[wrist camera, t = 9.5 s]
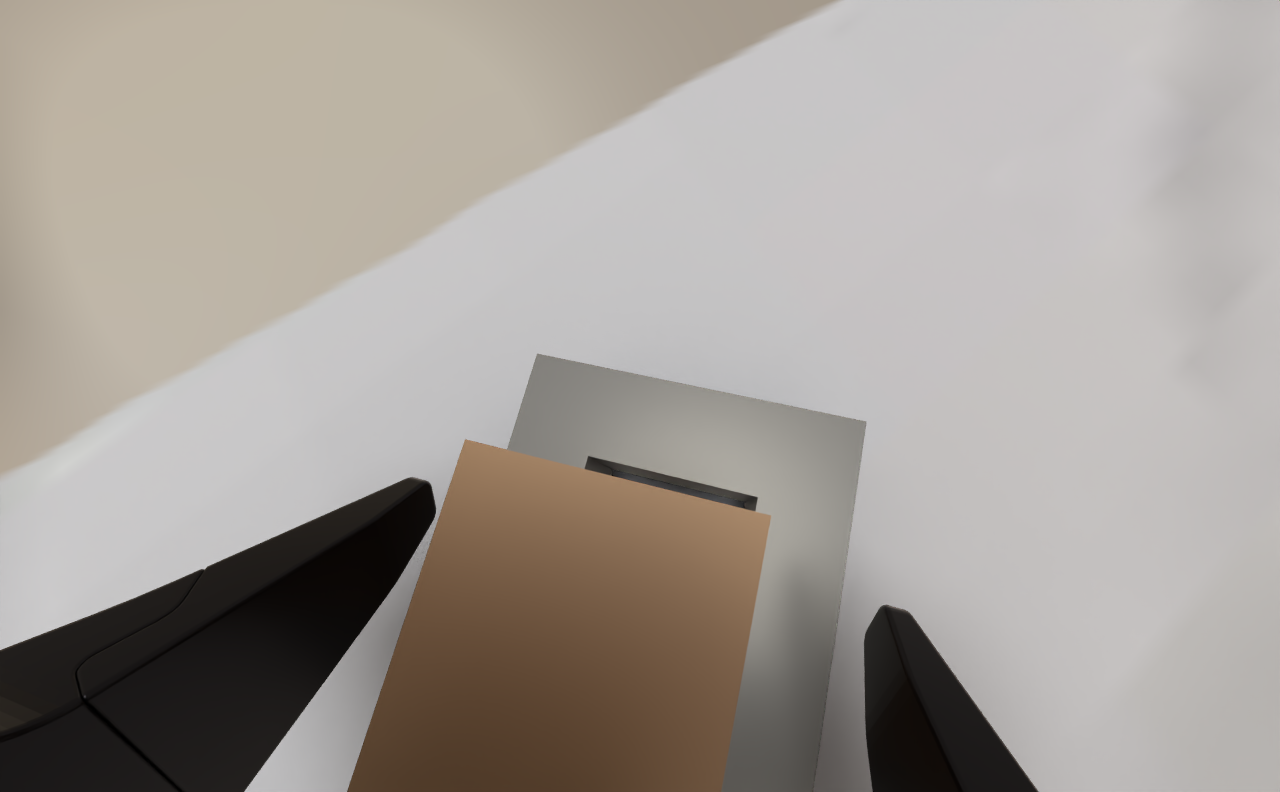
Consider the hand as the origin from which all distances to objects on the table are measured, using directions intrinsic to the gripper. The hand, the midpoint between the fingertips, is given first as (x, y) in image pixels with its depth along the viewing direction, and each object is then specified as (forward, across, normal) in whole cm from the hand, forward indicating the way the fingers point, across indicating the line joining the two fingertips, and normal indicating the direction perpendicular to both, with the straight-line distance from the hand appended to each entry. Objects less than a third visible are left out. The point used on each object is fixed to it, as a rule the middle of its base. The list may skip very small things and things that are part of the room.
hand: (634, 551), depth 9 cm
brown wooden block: (+5, 0, +7) cm, 8 cm away
